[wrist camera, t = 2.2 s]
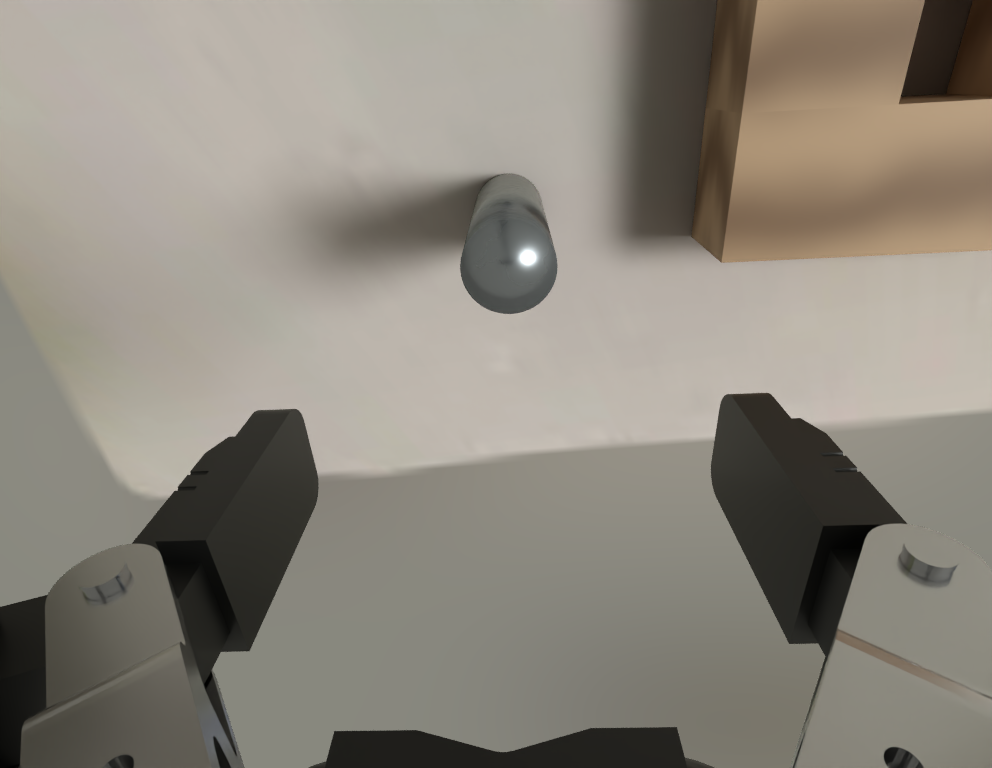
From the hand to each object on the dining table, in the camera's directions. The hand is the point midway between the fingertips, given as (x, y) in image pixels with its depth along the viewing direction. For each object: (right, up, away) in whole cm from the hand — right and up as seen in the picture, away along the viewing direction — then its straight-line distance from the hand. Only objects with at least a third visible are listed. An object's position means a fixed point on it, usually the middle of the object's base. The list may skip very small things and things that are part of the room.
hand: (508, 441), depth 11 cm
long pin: (0, +11, +20) cm, 22 cm away
